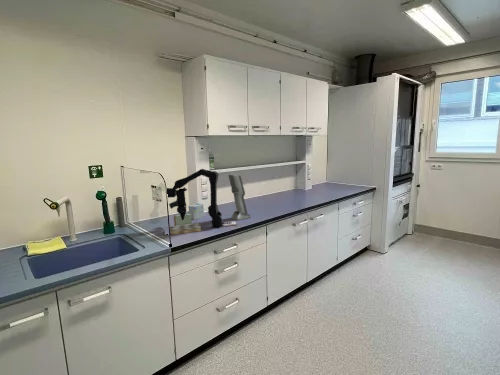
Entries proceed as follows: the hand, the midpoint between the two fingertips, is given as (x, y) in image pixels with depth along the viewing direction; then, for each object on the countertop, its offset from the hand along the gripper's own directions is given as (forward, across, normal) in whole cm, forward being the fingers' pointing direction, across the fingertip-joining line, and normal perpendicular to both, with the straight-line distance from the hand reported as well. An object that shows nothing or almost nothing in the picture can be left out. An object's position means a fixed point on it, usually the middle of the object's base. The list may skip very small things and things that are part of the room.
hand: (182, 218), depth 193 cm
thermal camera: (+7, -9, +44) cm, 46 cm away
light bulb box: (+7, -23, +10) cm, 26 cm away
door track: (+7, +10, 0) cm, 12 cm away
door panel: (+7, 0, 0) cm, 7 cm away
